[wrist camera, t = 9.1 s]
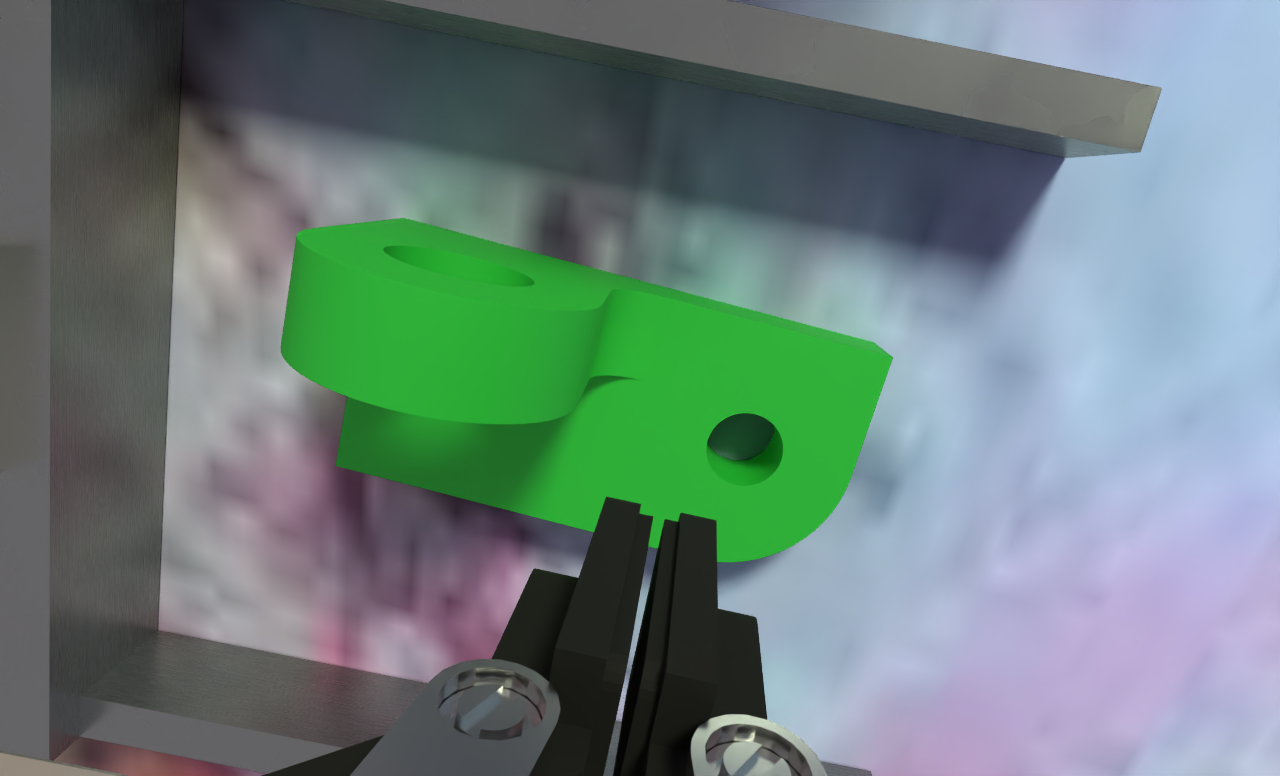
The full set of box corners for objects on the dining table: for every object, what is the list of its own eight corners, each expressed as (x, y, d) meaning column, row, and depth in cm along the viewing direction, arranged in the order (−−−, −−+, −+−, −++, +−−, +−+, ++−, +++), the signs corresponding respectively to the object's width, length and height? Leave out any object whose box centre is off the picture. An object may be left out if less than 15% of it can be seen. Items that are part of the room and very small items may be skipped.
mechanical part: (366, 440, 21) (186, 588, 13) (406, 217, 19) (228, 237, 12) (799, 551, 21) (871, 761, 13) (871, 340, 20) (998, 439, 12)
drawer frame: (1083, 104, 18) (1242, 71, 13) (859, 805, 23) (911, 980, 18) (30, -109, 18) (-224, -225, 13) (33, 642, 23) (-150, 771, 18)
